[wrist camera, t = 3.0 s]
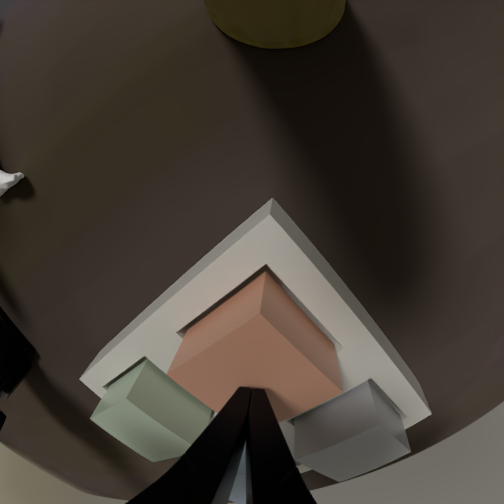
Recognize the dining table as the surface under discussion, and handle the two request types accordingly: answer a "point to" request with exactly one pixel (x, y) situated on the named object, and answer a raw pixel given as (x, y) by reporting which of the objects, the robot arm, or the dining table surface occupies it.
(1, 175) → the person figurine
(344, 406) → the key grey
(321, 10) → the vase
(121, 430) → the key sage
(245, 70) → the dining table surface
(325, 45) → the dining table surface
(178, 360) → the key terracotta
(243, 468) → the key slate
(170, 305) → the keypad
